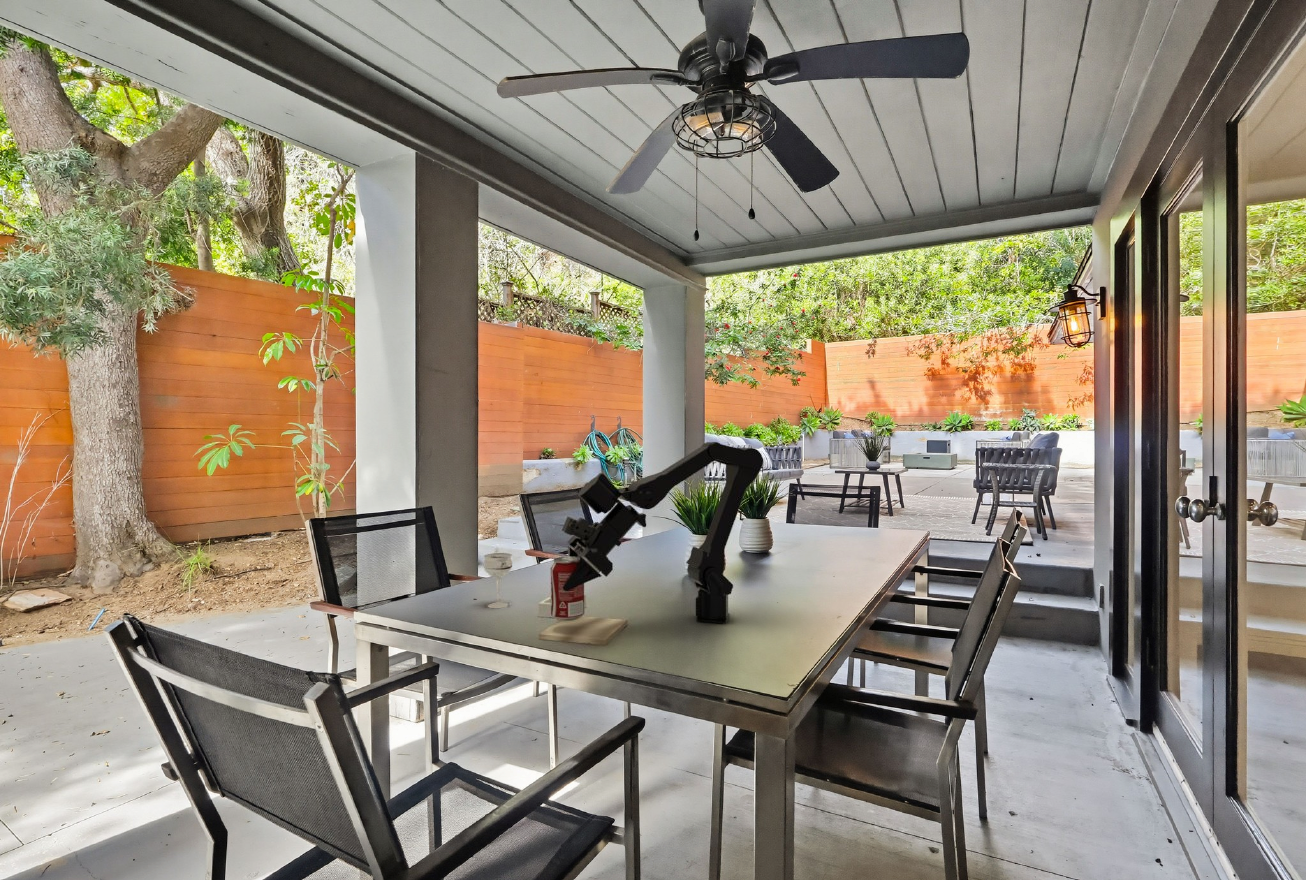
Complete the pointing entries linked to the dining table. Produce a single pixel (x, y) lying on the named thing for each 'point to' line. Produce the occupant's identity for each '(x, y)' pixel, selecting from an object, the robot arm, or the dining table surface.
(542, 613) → the block
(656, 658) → the dining table surface
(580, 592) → the soda can
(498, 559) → the wineglass
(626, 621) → the pad
